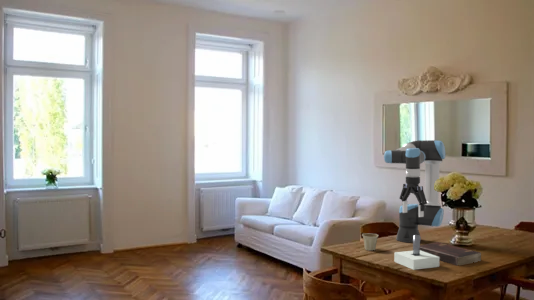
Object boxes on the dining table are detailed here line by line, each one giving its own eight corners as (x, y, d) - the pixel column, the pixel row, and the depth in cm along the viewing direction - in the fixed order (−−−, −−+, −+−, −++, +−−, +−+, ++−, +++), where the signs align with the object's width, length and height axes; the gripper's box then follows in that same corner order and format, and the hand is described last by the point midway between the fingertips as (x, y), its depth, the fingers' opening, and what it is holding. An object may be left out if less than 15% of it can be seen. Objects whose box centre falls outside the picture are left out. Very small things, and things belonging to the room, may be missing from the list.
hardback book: (414, 254, 267) (414, 245, 267) (437, 250, 276) (437, 242, 276) (457, 266, 242) (457, 257, 241) (480, 261, 251) (481, 252, 251)
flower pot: (378, 251, 271) (378, 237, 271) (362, 251, 273) (362, 236, 273) (378, 248, 280) (378, 233, 280) (362, 247, 282) (362, 233, 282)
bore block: (419, 259, 255) (419, 249, 255) (439, 266, 240) (439, 256, 240) (394, 261, 249) (394, 252, 249) (413, 269, 234) (413, 259, 234)
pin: (416, 260, 247) (417, 234, 246) (421, 262, 244) (421, 235, 243) (411, 261, 246) (411, 235, 245) (415, 263, 242) (415, 236, 242)
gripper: (393, 174, 266) (393, 211, 267) (422, 178, 243) (422, 219, 244) (404, 173, 269) (404, 210, 270) (434, 178, 246) (434, 218, 247)
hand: (412, 214), depth 257 cm, fingers open, 13 cm apart
